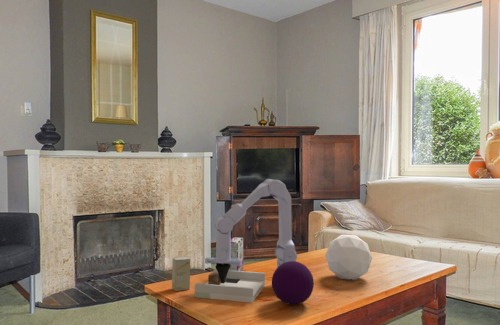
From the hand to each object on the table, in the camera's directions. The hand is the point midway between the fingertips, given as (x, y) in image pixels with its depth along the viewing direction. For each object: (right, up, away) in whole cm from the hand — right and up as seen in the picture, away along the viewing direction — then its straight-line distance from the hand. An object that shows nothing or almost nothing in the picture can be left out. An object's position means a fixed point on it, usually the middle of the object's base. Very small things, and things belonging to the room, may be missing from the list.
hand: (223, 282), depth 164 cm
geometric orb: (+54, -4, +19) cm, 57 cm away
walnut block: (-3, -1, +1) cm, 4 cm away
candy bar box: (+4, -3, +19) cm, 19 cm away
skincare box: (-17, -3, +1) cm, 17 cm away
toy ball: (+26, -4, -15) cm, 30 cm away
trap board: (+3, -3, -1) cm, 5 cm away
